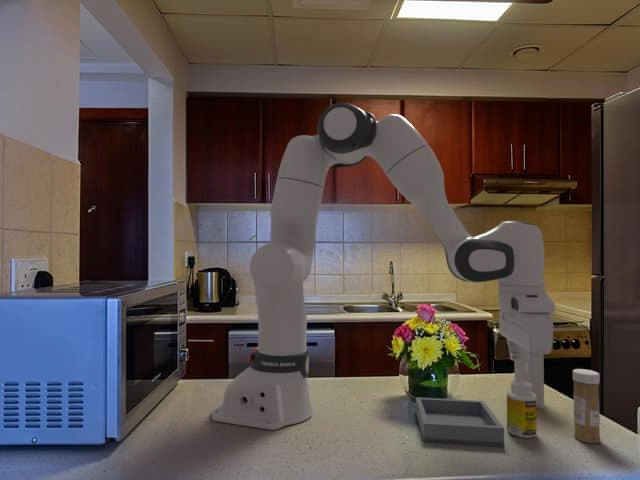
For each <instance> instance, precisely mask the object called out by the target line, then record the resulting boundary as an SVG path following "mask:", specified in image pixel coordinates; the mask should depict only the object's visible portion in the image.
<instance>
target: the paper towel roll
mask: <svg viewBox="0 0 640 480" xmlns="http://www.w3.org/2000/svg"><path fill="white" fill-rule="evenodd" d="M518 346H519V345H518ZM519 352H520V358H521V360H520V361H514V381H516V380H518V381H526V382H529V383H531V384H532V389H533V390H532V393H534V394H535V395H536V397H537V408H540V409H545V392H544V391H545V377H544V376H545V371H544V370H545V367H544V355H545V354H541V357H540V360H539V363H538V373H536V374H530V373H529V372H527V371H526V366H525V362H527V357H528V355H527V354H526V350H525V349H523V348H522V347H520V346H519Z"/></svg>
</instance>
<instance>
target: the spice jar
mask: <svg viewBox="0 0 640 480" xmlns="http://www.w3.org/2000/svg"><path fill="white" fill-rule="evenodd" d="M600 377H601V376H600V373H599V372H597V371H594V370H591V369H584V368H575V369H573V370H572V382H573V420H574V425H573V426H574V432H573V436H574V438H575V439H577V440H578V441H580V442H582V443H586V444H598V443H600V442H601V435H600V424H601V421H600V420H601V419H600V418H601V417H600V395H599V386H600V383H601V382H600V380H601V378H600Z"/></svg>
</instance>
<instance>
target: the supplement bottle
mask: <svg viewBox="0 0 640 480" xmlns="http://www.w3.org/2000/svg"><path fill="white" fill-rule="evenodd" d="M532 390H533V389H532V384H531V383H529V382H526V381H518V380H516V381H515V380H512V381H511V382H510V389H509V390H507V392H506V429H507V432H508V433H509V434H510V435H513V436H515V437H518V438H523V439H531V438H534V437H536V435H537V433H538V432H537V430H538V428H537V426H538V425H537V423H538V422H537V419H538V418H537V417H538V416H537V414H538V413H537V411H538V410H537V409H538V407H537V397H536V395H535V394H534V393H532Z"/></svg>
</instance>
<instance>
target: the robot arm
mask: <svg viewBox="0 0 640 480" xmlns="http://www.w3.org/2000/svg"><path fill="white" fill-rule="evenodd" d="M376 119H377V118H376V117H375V116H374V114H372V113H370V112H368V111H366V110H364V109H361V108H359V107H358V106H356V105H354V104H351V103H348V102H342V101H339V102H336V103H335V102H334V103H333V104H330V105H329V106H327V107H326V108H325V109H324V110H323V111H322V113H321V114H320V116H319V119H318V123H317V134H315V135H312V136H311V135H306V134H304V135H303V134H302V135H297V136H295V137H293V138H291V139H290V140H289V142H288V144H287V146H286V149H285V151H284V154H283V156H282V159H281V161H280V165H279V169H278V173H277V177H276V182H275V188H274V191H273V197H272V202H271V206H270V210H269V211H270V212H269V213H270V214H269V215H270V238H269V242H268V243H267V242H266V244H263V245H262V246H261V247H260V248H258V249H257V250H256V251H255V252H254V254H253V255H252V257H251V259H250V262H249V272H250V273H249V274H250V276H251V278H252V281H253V288H254V296H255V301H256V302H255V303H256V308H257V316H258V325H257V326H258V328H257V329H258V330H257V333H258V334H257V335H258V336H257V338H258V339H257V340H258V341H257V346H256V347H255V348H253V349H252V351H251V353H250V354H249V356H248V360H247V361H248V363H249V367H247V368H246V369H245V370H244V371H242V372H241V373H240V374H238V375H237V376H236V377H235V378H233V379H232V380H231V381H230V382H229V383H228V385H227V386H226V388H225V390H224V394H223V399H222V400H221V401H220V402H218V403H217V404H216V405H215V406H214V408H213V409H212V412H211V418H212V421H214V422H220V423H226V424H231V425H232V424H233V425H238V426H239V425H240V426H245V427H246V426H247V427H250V428H251V427H253V428H258V429H264V430H265V429H266V430H271V431H273V430H278V429H280V428H283V427H286V426H290V425H295V424H298V423H302V422H304V421H306V420H308V419H310V418H311V417H312V416H313V413H314V411H313V407H312V403H311V399H310V393H309V385H308V374H309V370H310V369H309V367H310V366H309V363H310V361H309V360H310V359H309V351H308V349H307V334H308V333H307V331H308V330H307V329H308V328H307V327H308V326H307V325H308V321H307V320H308V319H307V316H308V314H307V311H306V306H305V305H306V304H305V295H304V283H305V282H306V281H307V279H308V278H309V276H310V274H311V270H312V265H313V258H314V251H315V243H316V233H317V224H318V220H319V213H320V208H321V203H322V201H323V194H324V191H325V190H324V189H325V183H326V178H327V176H328V172H329V170H330V169H337V168H338V169H339V168H346V167H347V168H348V167H354V166H357V165H359V164H361V163H362V162H364V161H365V160H366V158H367V157H369V158H372V159H373V160H374V161H375V162H376V163H377V164H378V165H379V166H380V167H381V170H382V171H383V172H384V174H385V175H386V177H387V179H388V180H389V181H390V183H391V184H392V185H393V186H394V188H395V189H396V190H397V191H398V192H399V193H400V194H401V195H402V196H403V197H404V199H406V200H407V201H408V202H409V203H410V204H411V205H412V206H413V207H414V208H415V209H416V210H417V211H418V212H419V213H420V214H421V215H422V216H423V218H424V219H425V220H426V222H427V223H428V226H429V227H430V228H431V230H432V231H433V233H434V234H435V236H436V237H437V239H438V240H439V242H440V243H441V245H442V247H443V250H444V253H445V259H446V264H447V268H448V270H449V271H450V273H451V274H452V275H453V277H455V278H456V279H458V280H460V281H463V282H465V283H466V282H467V283H472V284H482V283H486V282H490V281H495V280H497V288H498V290H497V291H498V307H499V317H498V318H499V319H498V325H499V326H498V329H499V334H500V335H501V336H502V337H504V338H506V344H507V347H508V350H509V359H510V360H511V361H513V362H515V361H520V360H521V358H520V352H519V346H520V347H522V348H523V349H525V350H526V354H527V355H528V357H527V362H525V366H526V371H527V372H529V373H530V374H536V373H538V363H539V360H540V357H541V354H544V355H549V354H551V352H552V349H553V343H554V341H553V339H554V338H553V337H554V320H553V316H552V314H553V313H555V312H556V305H555V304H556V303H555V302H554V300H553V299H552V298H550V297H549V295H548V293H547V291H546V282H545V279H544V273H543V272H544V269H545V268H544V267H545V264H546V261H545V247H544V246H545V245H544V240H543V234H542V231H541V229H540V228H539V227H538V226H537V225H535V224H534V223H531V222H527V221H522V220H521V221H520V220H505V221H504V220H503V221H501V222H500V224H498V225H497V226H494V227H493V228H492V229H490V230H487V231H486V232H483V233H481V234H478V235H475V236H472V235H471V234H470V233H469V232H468V231H467V229H465V227H464V225H463V224H462V221H460V219H459V218H458V216H457V215H456V213H455V212H454V210H453V208H452V207H451V206H450V204H449V202H448V199H447V194H446V191H445V177H444V175H445V174H444V171H443V168H442V166H441V163H440V162H439V160H438V158H437V155H436V154H435V152H434V151H433V150H432V148H431V147H430V145H429V143H427V141H426V140H425V138H424V137H423V136H422V134H421V133H420V132H419V131H418V130H417V129H416V128H415V127H414V126H413V124H411V123H410V122H409V121H408V120H407V119H406V118H405V117H404V116H402V115H400V114H395V113H393V114H387V115H385V116H383V117H381V118H379V119H378V120H376ZM518 345H519V346H518Z"/></svg>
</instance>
